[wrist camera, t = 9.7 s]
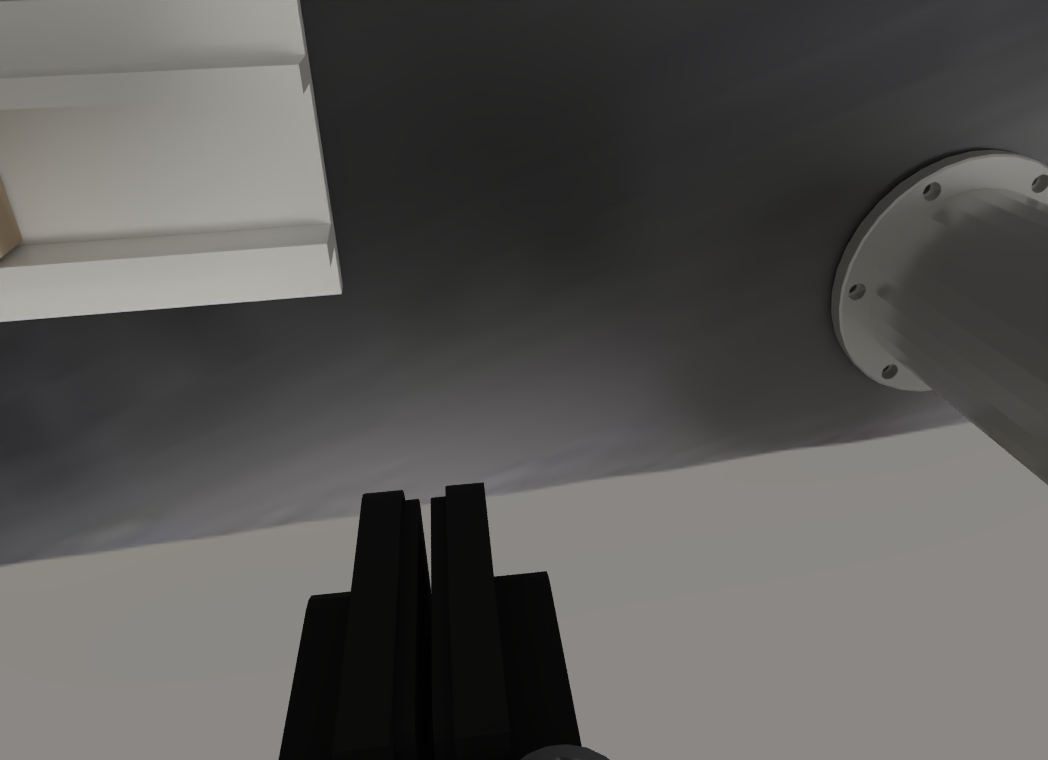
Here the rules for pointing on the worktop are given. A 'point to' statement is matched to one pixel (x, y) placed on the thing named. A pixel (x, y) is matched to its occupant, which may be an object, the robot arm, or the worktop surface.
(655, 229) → the worktop surface
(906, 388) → the robot arm
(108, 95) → the chute
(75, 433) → the worktop surface
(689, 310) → the worktop surface
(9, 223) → the block
